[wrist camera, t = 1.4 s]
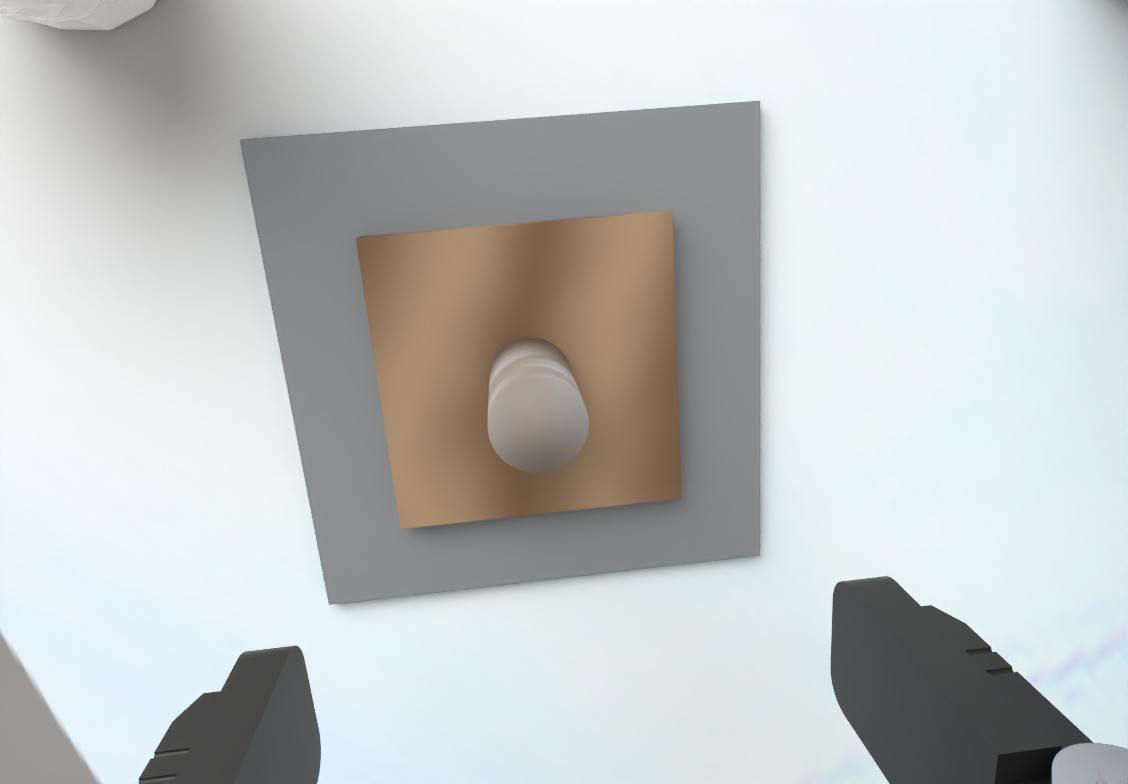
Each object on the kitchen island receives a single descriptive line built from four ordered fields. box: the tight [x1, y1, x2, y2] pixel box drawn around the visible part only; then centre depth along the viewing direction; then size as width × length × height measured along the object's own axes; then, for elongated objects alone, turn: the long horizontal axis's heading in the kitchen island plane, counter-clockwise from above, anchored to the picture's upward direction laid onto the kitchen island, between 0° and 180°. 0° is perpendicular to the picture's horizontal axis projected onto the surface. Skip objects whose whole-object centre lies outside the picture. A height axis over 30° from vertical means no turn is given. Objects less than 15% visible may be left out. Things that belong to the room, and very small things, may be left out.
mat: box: [240, 101, 760, 605], centre depth 28 cm, size 18×18×1 cm
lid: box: [355, 211, 682, 529], centre depth 25 cm, size 11×11×6 cm
